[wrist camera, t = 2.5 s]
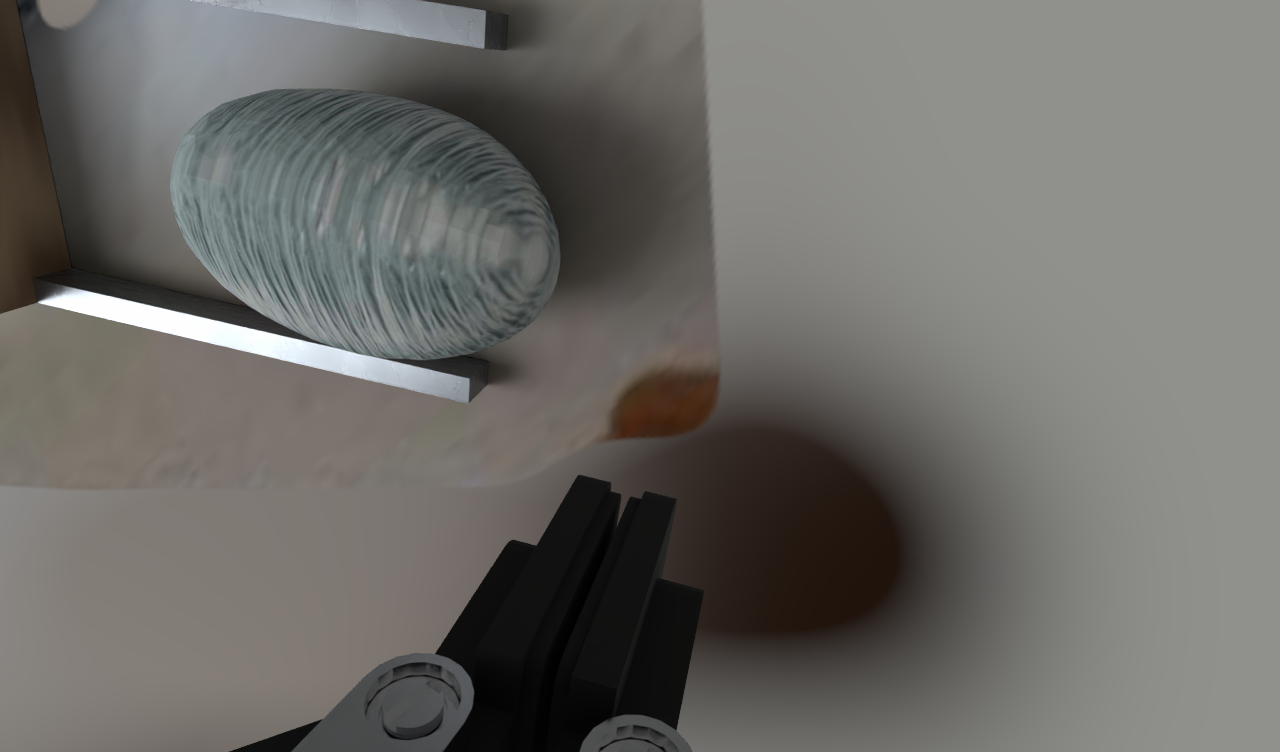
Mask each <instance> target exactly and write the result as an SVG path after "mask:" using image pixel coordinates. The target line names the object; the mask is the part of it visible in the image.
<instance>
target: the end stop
mask: <svg viewBox="0 0 1280 752" xmlns="http://www.w3.org/2000/svg"><path fill="white" fill-rule="evenodd" d="M69 268H71V263H70V258H69V253H68V249H67V244H66V239H65V234H64V229H63V225H62V220H61V215H60V210H59V205H58V200H57V196H56V191H55V186H54V181H53V176H52V172H51V167H50V162H49V157H48V152H47V147H46V143H45V138H44V133H43V128H42V123H41V119H40V114H39V109H38V104H37V99H36V94H35V90H34V85H33V80H32V75H31V70H30V66H29V61H28V56H27V51H26V46H25V41H24V37H23V32H22V27H21V22H20V17H19V13H18V8H17V3H16V0H0V314H1V313H4V312H8V311H11V310H14V309H18V308H21V307H24V306H28V305H31V304H34V303H37V299H36V295H35V290H34V286H33V282H32V278H36V277H40V276H43V275H47V274H51V273H55V272H58V271H62V270H66V269H69Z"/></svg>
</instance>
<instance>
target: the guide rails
mask: <svg viewBox="0 0 1280 752" xmlns="http://www.w3.org/2000/svg"><path fill="white" fill-rule="evenodd" d="M190 1H196V2H202V3H208V4H214V5H221V6H227V7H233V8H239V9H245V10H251V11H257V12H263V13H269V14H276V15H282V16H288V17H294V18H300V19H306V20H312V21H318V22H324V23H331V24H337V25H343V26H349V27H355V28H361V29H367V30H373V31H379V32H386V33H392V34H398V35H404V36H410V37H416V38H422V39H428V40H434V41H441V42H447V43H453V44H459V45H465V46H471V47H477V48H483V49H495V50H506V36H507V18H508V15H505V14H500V13H495V12H490V11H485V10H479V9H472V8H466V7H460V6H453V5H447V4H440V3H434V2H427V1H421V0H190ZM32 282H33V286H34V290H35V295H36V299H37V303H41V304H46V305H50V306H54V307H59V308H63V309H67V310H71V311H76V312H80V313H84V314H88V315H93V316H97V317H101V318H106V319H110V320H114V321H118V322H123V323H127V324H131V325H136V326H140V327H144V328H148V329H153V330H157V331H161V332H165V333H170V334H174V335H178V336H183V337H187V338H191V339H195V340H200V341H204V342H208V343H212V344H217V345H221V346H225V347H230V348H234V349H238V350H242V351H247V352H251V353H255V354H260V355H264V356H268V357H272V358H277V359H281V360H285V361H289V362H294V363H298V364H302V365H307V366H311V367H315V368H319V369H324V370H328V371H332V372H336V373H341V374H345V375H349V376H354V377H358V378H362V379H366V380H371V381H375V382H379V383H384V384H388V385H392V386H396V387H401V388H405V389H409V390H413V391H418V392H422V393H426V394H431V395H435V396H439V397H443V398H448V399H452V400H456V401H460V402H465V403H469V402H470V401H471V400H472V399H473V398H474V397H475V396H476V395H477V394H478V393H479V392H480V391H481V390H482V389H483V388H484V387H485V386H486V385H487V374H488V361H483V360H479V359H474V358H470V357H465V356H461V355H459V356H454V357H448V358H440V359H430V360H412V359H394V358H379V357H371V356H366V355H361V354H357V353H353V352H349V351H345V350H341V349H338V348H336V347H333V346H330V345H327V344H324V343H321V342H319V341H316V340H313V339H311V338H308V337H306V336H304V335H302V334H300V333H297V332H295V331H293V330H291V329H289V328H287V327H285V326H283V325H281V324H279V323H277V322H276V321H274V320H272V319H270V318H268V317H266V316H264V315H263V314H261V313H259V312H258V311H256V310H255V309H252V308H247V307H243V306H238V305H234V304H230V303H225V302H221V301H216V300H212V299H207V298H203V297H198V296H194V295H190V294H185V293H181V292H176V291H172V290H167V289H163V288H158V287H154V286H150V285H145V284H141V283H136V282H132V281H127V280H123V279H118V278H114V277H109V276H105V275H101V274H96V273H92V272H87V271H83V270H78V269H74V268H69V269H66V270H62V271H58V272H55V273H51V274H47V275H43V276H40V277H36V278H32Z"/></svg>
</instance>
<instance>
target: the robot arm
mask: <svg viewBox="0 0 1280 752" xmlns="http://www.w3.org/2000/svg"><path fill="white" fill-rule="evenodd" d="M620 502H621V494H618V493H615V492H611V483H610V482H607V481H603V480H599V479H595V478H591V477H587V476H583V475H578V476H577V478H576V479H575V481H574V483H573V484H572V486H571V488H570V490H569V491H568V493H567V495H566V496H565V498H564V500H563V501H562V503H561V505H560V507H559V508H558V510H557V512H556V513H555V515H554V517H553V519H552V520H551V522H550V524H549V525H548V527H547V529H546V531H545V532H544V534H543V536H542V537H541V539H540V541H539V543H538V544H537V546H535V545H531V544H528V543H524V542H520V541H516V540H511V541H509V542H508V544H507V545H506V546H505V547H504V549H503V550H502V552H501V554H500V555H499V557H498V558H497V560H496V561H495V563H494V564H493V566H492V567H491V569H490V570H489V572H488V573H487V575H486V577H485V578H484V580H483V581H482V583H481V584H480V586H479V587H478V589H477V590H476V592H475V593H474V595H473V596H472V598H471V600H470V601H469V603H468V604H467V606H466V607H465V609H464V610H463V612H462V614H461V615H460V616H459V618H458V619H457V621H456V623H455V624H454V626H453V627H452V629H451V630H450V632H449V633H448V635H447V637H446V638H445V639H444V641H443V643H442V644H441V646H440V647H439V649H438V650H437V652H436V653H435V654H432V653H430V654H429V653H414V654H409V655H403V656H399V657H396V658H393V659H391V660H389V661H387V662H384V663H382V664H380V665H379V666H377V667H376V668H375V669H374V670H372V671H371V672H370V673H368V674H367V675H366V676H365V677H364V678H363V679H362V680H361V681H360V682H359V683H358V684H357V685H356V686H355V687H354V688H353V689H352V690H351V691H350V692H349V693H348V694H347V695H346V696H345V697H344V698H343V699H342V700H341V701H340V702H339V703H338V704H337V705H336V706H335V708H334V709H333V710H332V711H331V712H330V713H329V714H328V715H327V716H326V717H325V718H324V719H322V720H319V721H316V722H313V723H310V724H307V725H305V726H302V727H299V728H296V729H293V730H290V731H287V732H284V733H281V734H279V735H276V736H273V737H270V738H267V739H264V740H262V741H258V742H256V743H253V744H250V745H247V746H244V747H241V748H239V749H236V750H233V751H230V752H692V750H691V748H690V746H689V744H688V743H687V742H686V741H685V739H684V738H683V737H682V736H681V735H680V734H679V733H678V732H677V731H676V730H677V724H678V719H679V714H680V709H681V704H682V699H683V694H684V689H685V684H686V679H687V674H688V669H689V664H690V659H691V654H692V648H693V644H694V639H695V634H696V629H697V624H698V619H699V614H700V609H701V604H702V599H703V594H704V590H701V589H697V588H693V587H690V586H686V585H682V584H678V583H674V582H671V581H667V580H663V579H661V578H662V573H663V568H664V563H665V558H666V553H667V548H668V544H669V538H670V534H671V529H672V524H673V519H674V514H675V509H676V503H677V499H675V498H671V497H667V496H663V495H659V494H655V493H651V492H647V491H645V492H644V494H643V496H642V499H639V498H634V497H630V498H629V500H628V503H627V505H626V507H625V510H624V512H623V514H622V517H621V519H620V521H619V524H618V526H617V521H618V515H619V508H620ZM616 527H617V528H616Z"/></svg>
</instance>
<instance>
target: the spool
mask: <svg viewBox="0 0 1280 752" xmlns="http://www.w3.org/2000/svg"><path fill="white" fill-rule="evenodd" d="M170 192H171V198H172V203H173V208H174V213H175V218H176V220H177V222H178V225H179V227H180V230H181V232H182V234H183V237H184V239H185V240H186V242H187V244H188V246H189V247H190V249H191V250H192V251H193V253H194V254H195V255H196V256H197V258H198V259H199V260H200V261H201V262H202V264H203V265H204V266H205V267H206V268H207V269H208V270H209V272H210V273H211V274H212V275H213V276H214V277H215V278H216V279H217V280H218V281H219V283H220V284H221V285H222V286H223V287H224V288H226V289H227V290H228V291H230V292H231V293H232V294H234V295H235V296H236V297H238V298H239V299H240V300H242V301H243V302H244V303H246V304H247V305H248V306H250V307H251V308H253V309H255V310H256V311H258V312H259V313H261V314H263V315H264V316H266V317H268V318H270V319H272V320H274V321H276V322H277V323H279V324H281V325H283V326H285V327H287V328H289V329H291V330H293V331H295V332H297V333H300V334H302V335H304V336H306V337H308V338H311V339H313V340H316V341H319V342H321V343H324V344H327V345H330V346H333V347H336V348H338V349H341V350H345V351H349V352H353V353H357V354H361V355H366V356H371V357H379V358H394V359H412V360H430V359H440V358H448V357H454V356H459V355H465V354H471V353H474V352H477V351H480V350H483V349H486V348H488V347H491V346H494V345H496V344H498V343H500V342H503V341H505V340H507V339H509V338H511V337H512V336H514V335H515V334H517V333H518V332H520V331H521V330H523V329H524V328H525V327H526V326H528V325H529V324H530V323H531V322H533V321H534V319H535V318H536V317H537V316H538V315H539V313H540V312H541V311H542V309H543V308H544V307H545V305H546V304H547V303H548V301H549V299H550V297H551V295H552V293H553V291H554V288H555V285H556V282H557V278H558V274H559V269H560V257H561V254H560V244H559V236H558V229H557V227H556V224H555V221H554V219H553V215H552V211H551V209H550V207H549V204H548V202H547V200H546V198H545V196H544V194H543V193H542V191H541V189H540V188H539V186H538V184H537V182H536V181H535V180H534V178H533V177H532V175H531V174H530V172H529V171H528V170H527V169H526V168H525V167H524V165H523V164H522V163H521V162H520V161H519V160H518V159H517V158H516V157H515V156H514V155H513V154H512V153H511V152H510V151H509V150H508V149H507V148H506V147H505V146H504V145H502V144H501V143H500V142H498V141H497V140H496V139H495V138H493V137H492V136H491V135H490V134H488V133H487V132H486V131H484V130H482V129H480V128H478V127H477V126H475V125H474V124H472V123H470V122H468V121H466V120H464V119H462V118H460V117H457V116H455V115H453V114H450V113H448V112H445V111H443V110H440V109H437V108H434V107H431V106H428V105H426V104H423V103H419V102H415V101H411V100H407V99H403V98H398V97H393V96H387V95H381V94H376V93H368V92H360V91H353V90H339V89H279V90H270V91H265V92H261V93H257V94H254V95H250V96H247V97H243V98H239V99H236V100H233V101H230V102H227V103H224V104H222V105H220V106H218V107H217V108H215V109H214V110H212V111H211V112H209V113H208V114H206V115H205V116H204V117H203V118H201V119H200V120H199V121H198V122H197V123H196V124H195V125H194V126H193V127H192V128H191V129H190V130H189V131H188V132H187V133H186V134H185V136H184V138H183V140H182V142H181V144H180V146H179V148H178V150H177V153H176V156H175V158H174V161H173V166H172V170H171V177H170Z"/></svg>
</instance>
